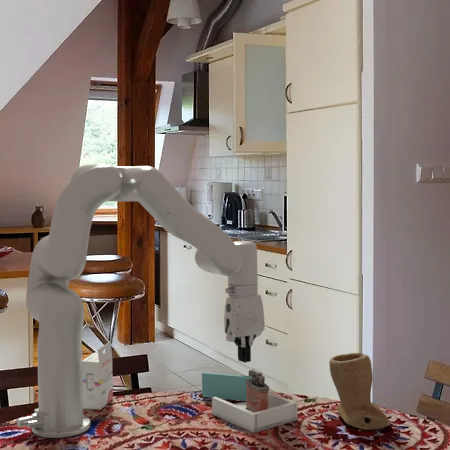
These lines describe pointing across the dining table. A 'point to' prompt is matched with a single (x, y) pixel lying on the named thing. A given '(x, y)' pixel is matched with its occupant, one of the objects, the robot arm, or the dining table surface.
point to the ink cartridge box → (97, 378)
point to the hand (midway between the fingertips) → (244, 360)
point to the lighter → (256, 392)
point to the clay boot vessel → (356, 391)
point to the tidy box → (256, 413)
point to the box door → (224, 386)
